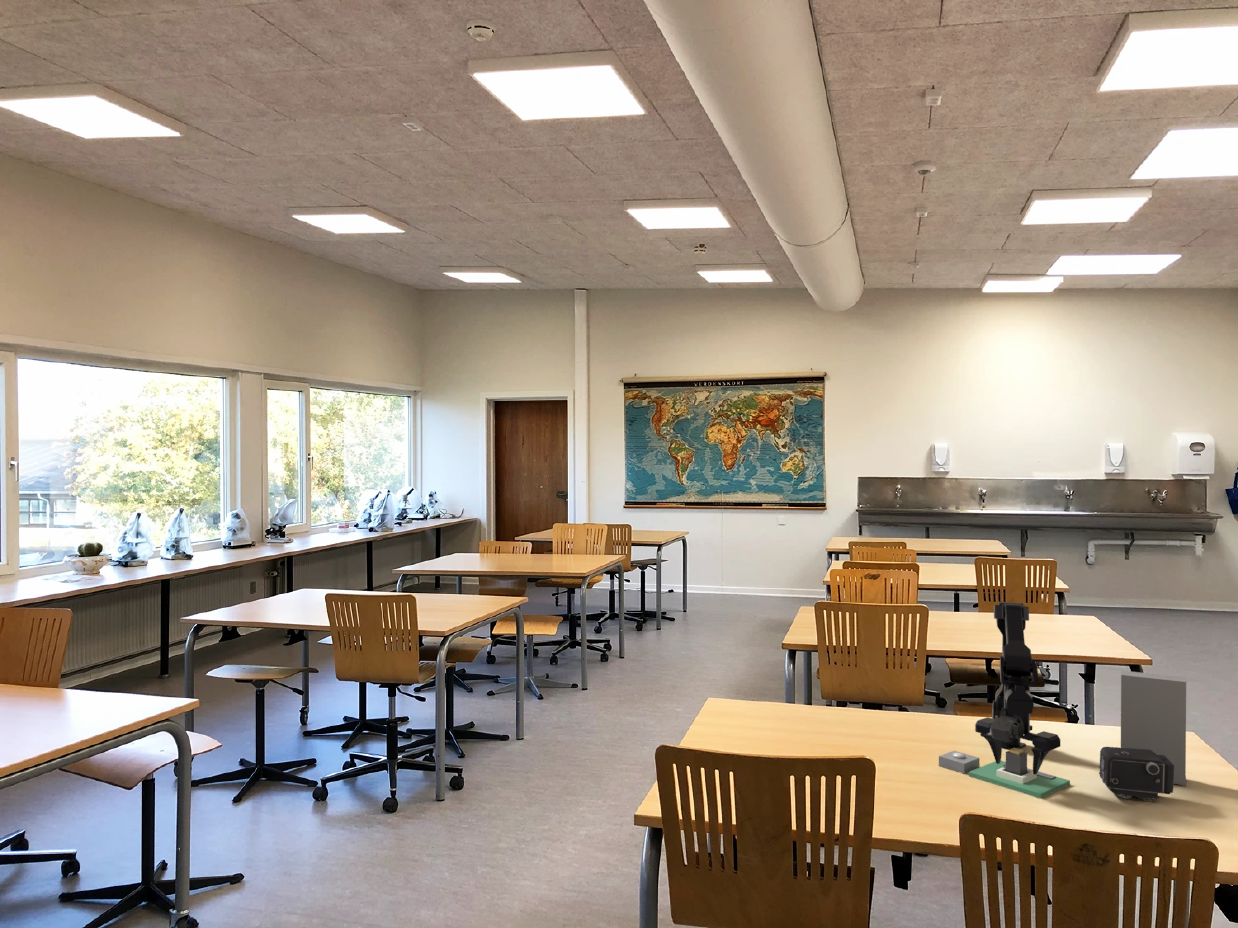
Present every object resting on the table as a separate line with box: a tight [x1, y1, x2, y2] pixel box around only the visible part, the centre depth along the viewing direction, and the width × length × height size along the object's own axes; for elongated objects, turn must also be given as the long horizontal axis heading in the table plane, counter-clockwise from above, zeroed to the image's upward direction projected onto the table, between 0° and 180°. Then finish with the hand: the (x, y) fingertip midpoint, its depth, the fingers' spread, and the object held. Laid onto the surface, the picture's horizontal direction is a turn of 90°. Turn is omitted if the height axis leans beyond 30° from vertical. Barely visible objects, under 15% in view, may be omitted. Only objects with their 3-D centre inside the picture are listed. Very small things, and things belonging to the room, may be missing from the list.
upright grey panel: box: [1120, 670, 1187, 786], centre depth 218 cm, size 14×6×25 cm, turn 59°
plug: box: [1005, 748, 1028, 776], centre depth 216 cm, size 4×4×7 cm
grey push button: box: [938, 750, 980, 775], centre depth 225 cm, size 7×7×3 cm
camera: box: [1098, 746, 1174, 802], centre depth 205 cm, size 10×11×14 cm
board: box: [968, 760, 1071, 799], centre depth 216 cm, size 14×18×2 cm
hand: (1016, 768), depth 216 cm, fingers open, 9 cm apart
